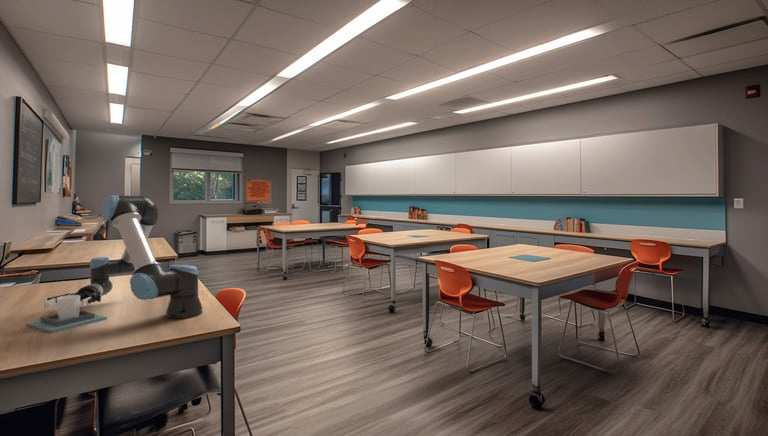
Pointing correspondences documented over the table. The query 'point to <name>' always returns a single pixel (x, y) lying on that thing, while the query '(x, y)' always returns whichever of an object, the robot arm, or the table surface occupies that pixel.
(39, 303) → the table surface
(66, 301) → the white cup
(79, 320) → the glass holder
